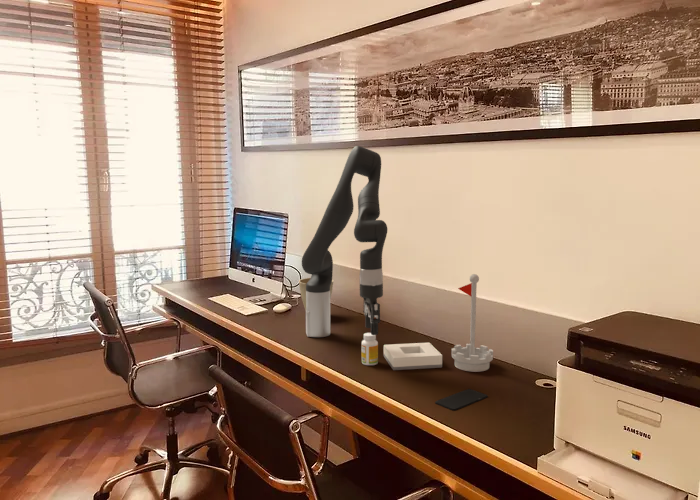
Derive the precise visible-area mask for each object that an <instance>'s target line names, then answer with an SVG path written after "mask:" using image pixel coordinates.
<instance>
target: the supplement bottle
mask: <svg viewBox="0 0 700 500" xmlns="http://www.w3.org/2000/svg"><path fill="white" fill-rule="evenodd" d="M361 363H362V365H364V366H375V365H378V363H379V342H378V340H377V335H372V334H371V332H365V333H363V339H362V340H361Z"/></svg>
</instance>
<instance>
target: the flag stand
mask: <svg viewBox="0 0 700 500" xmlns="http://www.w3.org/2000/svg"><path fill="white" fill-rule="evenodd" d="M479 281H480V277H479V275H477V274H475V273H473V274H471V275H470V276H469V282H470V283H468V284H466V285H463V286H461V287H458V290H459V291H461V292H463V293H465V294H466V295H468V296H469V297H470V299H471V300H470V327H469V328H470V329H469V330H470V331H469V332H470V335H469V338H470V339H469V343H466V344H465V345H466V346H464V347H462V345H461V344H456V345H454V347H451V358H452V359H453V360H454V366H455V367H456V368H457V369H459V370H461V371H464V372H465V371H466V372H475V373H476V372H478V373H479V372H484V371H488V370H489V369H490V362H492V361H493V359H494V350H493V349H491V348H489V346H486V345H482V344H481V345H479V347H476V345H475V344H476V319H477V315H476V312H477V310H476V309H477V283H478V282H479Z"/></svg>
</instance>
